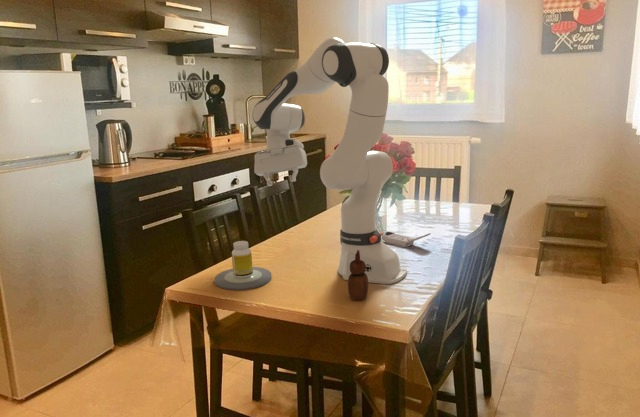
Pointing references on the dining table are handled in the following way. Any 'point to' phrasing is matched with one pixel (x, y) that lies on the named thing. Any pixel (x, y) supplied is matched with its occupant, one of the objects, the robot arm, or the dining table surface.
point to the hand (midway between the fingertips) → (281, 183)
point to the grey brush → (399, 239)
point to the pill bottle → (242, 260)
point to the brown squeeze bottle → (358, 279)
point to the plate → (232, 283)
